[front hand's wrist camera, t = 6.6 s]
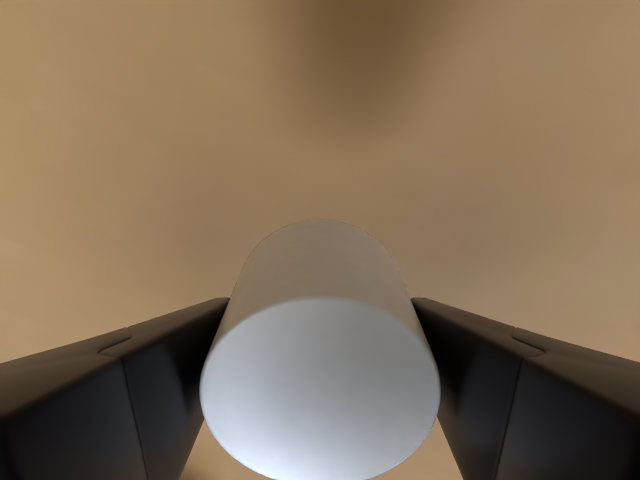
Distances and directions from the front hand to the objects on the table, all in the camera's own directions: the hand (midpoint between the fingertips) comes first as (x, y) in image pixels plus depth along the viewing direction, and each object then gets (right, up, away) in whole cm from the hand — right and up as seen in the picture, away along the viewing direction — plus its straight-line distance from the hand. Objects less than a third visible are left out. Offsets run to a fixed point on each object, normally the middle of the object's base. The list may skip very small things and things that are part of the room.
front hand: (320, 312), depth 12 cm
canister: (0, 0, +1) cm, 1 cm away
